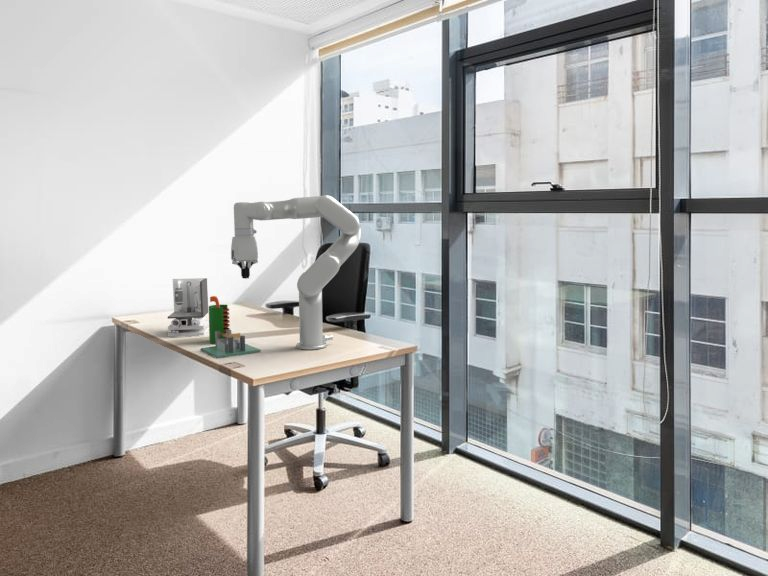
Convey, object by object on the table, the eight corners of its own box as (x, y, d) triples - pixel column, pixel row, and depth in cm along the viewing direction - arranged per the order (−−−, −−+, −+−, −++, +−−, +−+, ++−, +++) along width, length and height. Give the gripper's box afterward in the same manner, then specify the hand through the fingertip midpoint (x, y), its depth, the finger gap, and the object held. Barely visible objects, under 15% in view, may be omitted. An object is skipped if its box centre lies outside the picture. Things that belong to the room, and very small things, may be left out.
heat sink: (231, 344, 254) (231, 328, 254) (243, 349, 245) (243, 333, 244) (213, 346, 250) (212, 331, 249) (224, 351, 240) (224, 335, 239)
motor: (231, 343, 261) (229, 297, 259) (209, 344, 259) (208, 298, 256) (230, 338, 271) (228, 294, 269) (209, 340, 268) (207, 295, 266)
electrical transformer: (209, 329, 294) (206, 278, 291) (202, 337, 275) (200, 282, 272) (175, 330, 292) (173, 279, 289) (166, 338, 273) (164, 283, 270)
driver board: (242, 344, 258) (241, 328, 257) (260, 352, 244) (260, 334, 243) (200, 350, 248) (200, 333, 247) (217, 358, 233) (216, 340, 232)
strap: (226, 334, 252) (226, 330, 251) (240, 337, 240) (240, 333, 240) (219, 335, 250) (219, 331, 250) (233, 338, 238) (233, 334, 238)
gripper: (257, 232, 253) (258, 276, 255) (222, 233, 244) (224, 278, 246) (265, 232, 247) (266, 277, 249) (230, 233, 238) (231, 280, 240)
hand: (245, 278), depth 248 cm, fingers closed
